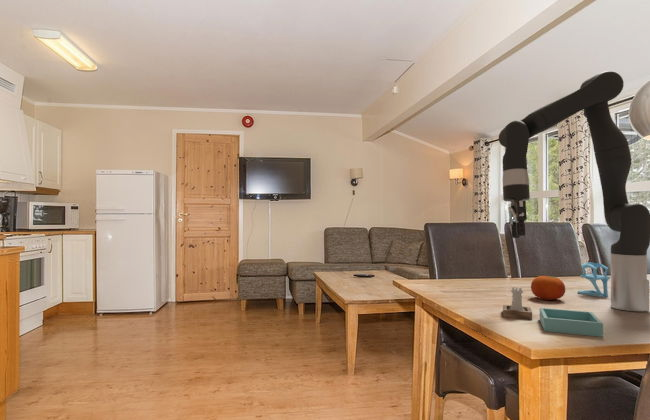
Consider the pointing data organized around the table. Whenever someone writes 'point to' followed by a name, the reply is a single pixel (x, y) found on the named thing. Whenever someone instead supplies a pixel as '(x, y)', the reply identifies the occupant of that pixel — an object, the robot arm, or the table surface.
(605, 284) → the chair
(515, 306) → the rook chess piece
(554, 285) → the fruit
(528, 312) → the socket collar
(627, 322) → the table surface
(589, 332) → the tray
